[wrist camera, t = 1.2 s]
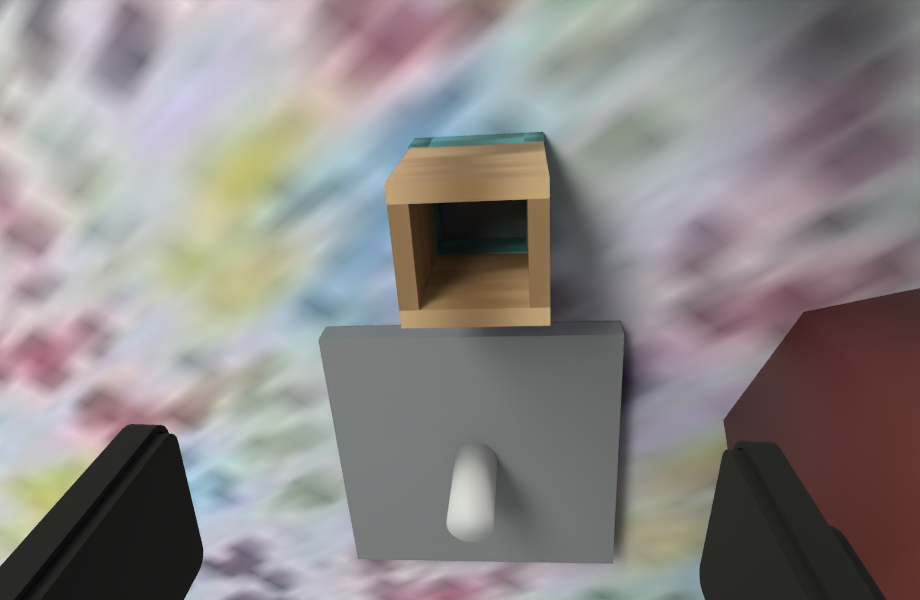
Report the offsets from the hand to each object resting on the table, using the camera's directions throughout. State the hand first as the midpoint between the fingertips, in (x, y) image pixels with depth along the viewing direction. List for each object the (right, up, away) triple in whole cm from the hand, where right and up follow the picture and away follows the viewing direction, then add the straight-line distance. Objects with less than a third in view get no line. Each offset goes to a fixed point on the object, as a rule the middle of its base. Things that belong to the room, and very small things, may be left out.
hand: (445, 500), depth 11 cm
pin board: (+1, -5, +27) cm, 28 cm away
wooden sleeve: (+1, +8, +21) cm, 22 cm away
